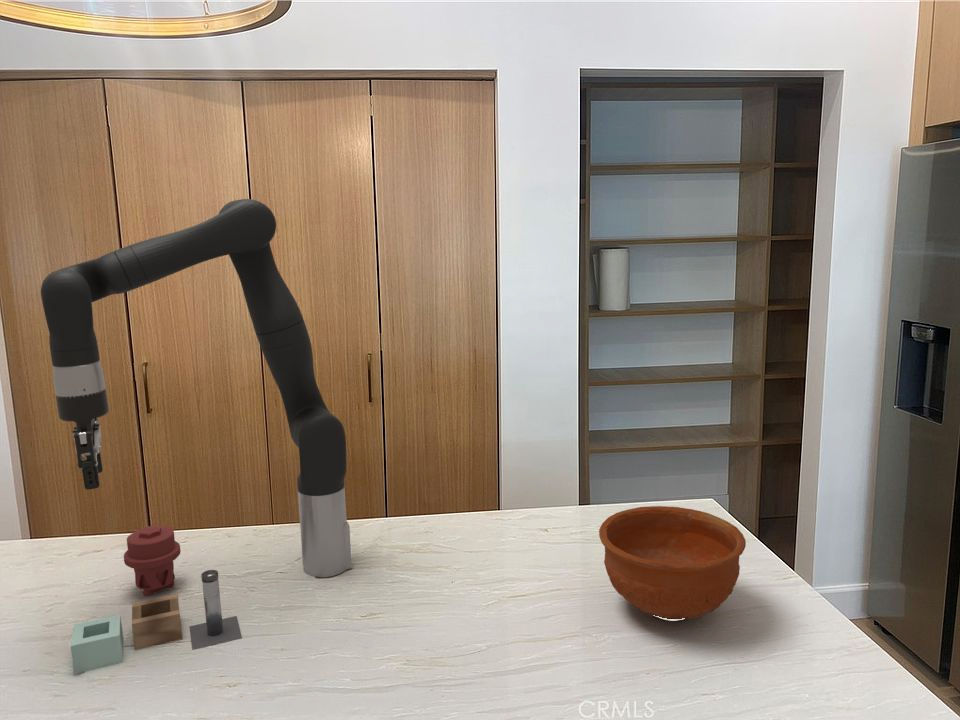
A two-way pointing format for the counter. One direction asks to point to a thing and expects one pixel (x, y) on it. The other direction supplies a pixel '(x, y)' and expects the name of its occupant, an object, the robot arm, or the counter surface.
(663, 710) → the counter surface
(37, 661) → the counter surface
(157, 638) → the wooden square frame
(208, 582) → the cylinder
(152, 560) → the mechanical component
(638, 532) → the bowl
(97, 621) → the teal block
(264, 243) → the robot arm
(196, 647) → the mat
